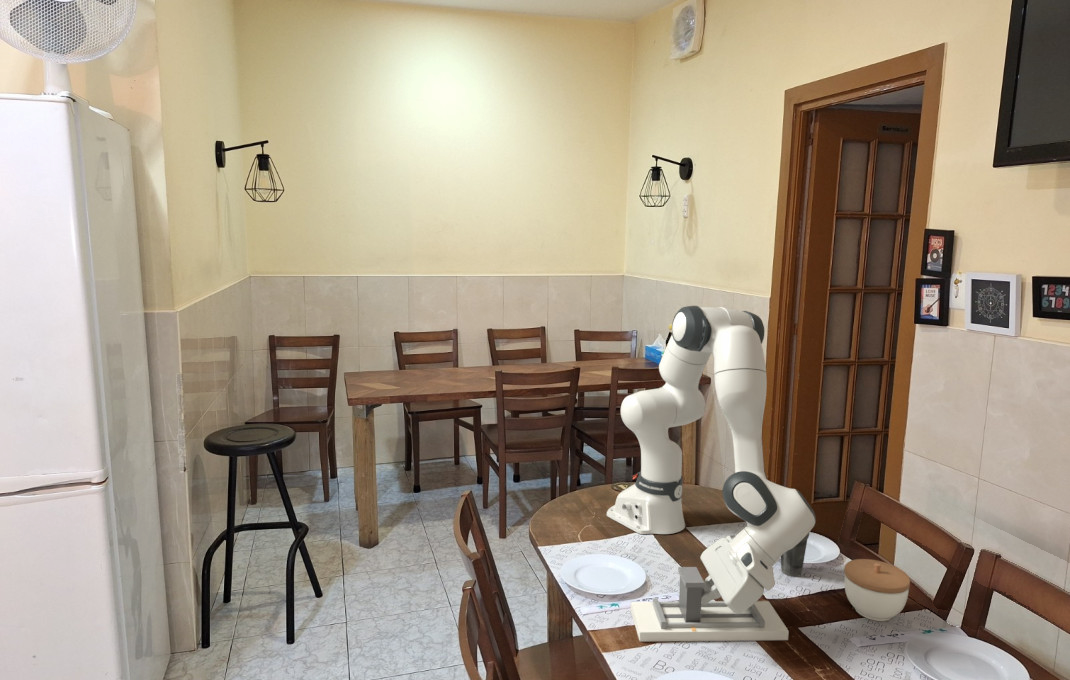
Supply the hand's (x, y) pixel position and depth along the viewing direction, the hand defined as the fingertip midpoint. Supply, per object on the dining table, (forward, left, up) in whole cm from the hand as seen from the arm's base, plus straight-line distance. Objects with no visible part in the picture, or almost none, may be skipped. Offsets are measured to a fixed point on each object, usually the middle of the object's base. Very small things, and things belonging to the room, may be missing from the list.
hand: (700, 599), depth 138 cm
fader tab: (-1, -2, -4) cm, 4 cm away
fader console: (+1, +1, -6) cm, 6 cm away
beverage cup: (+4, +35, -6) cm, 36 cm away
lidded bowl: (+24, +31, -6) cm, 40 cm away
